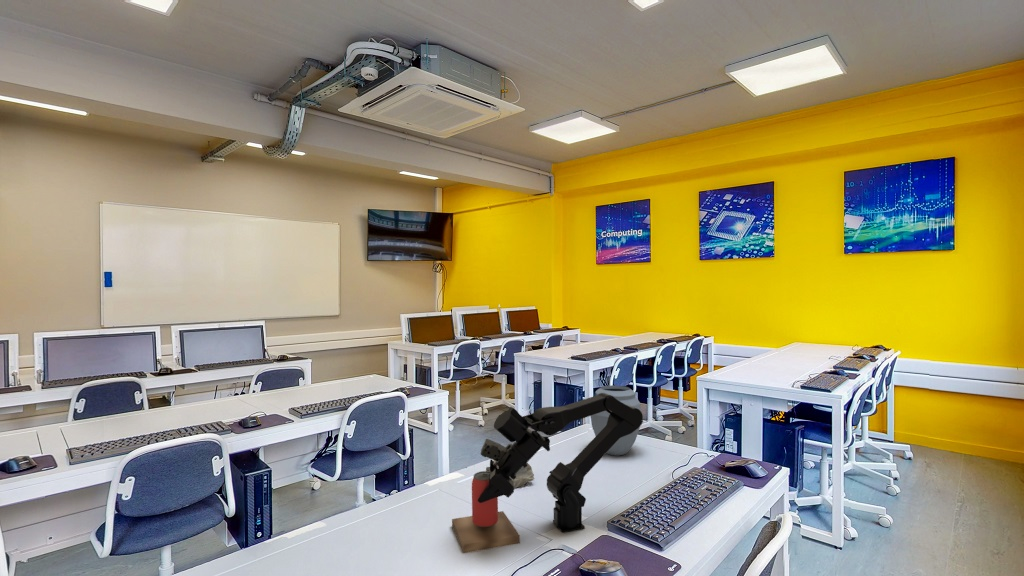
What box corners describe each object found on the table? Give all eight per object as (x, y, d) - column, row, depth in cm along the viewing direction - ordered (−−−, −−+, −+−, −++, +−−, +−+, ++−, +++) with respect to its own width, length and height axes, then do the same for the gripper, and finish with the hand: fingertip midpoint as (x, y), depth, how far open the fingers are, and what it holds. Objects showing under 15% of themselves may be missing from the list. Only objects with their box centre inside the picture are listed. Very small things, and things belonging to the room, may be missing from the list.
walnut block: (503, 520, 135) (502, 511, 135) (519, 545, 122) (519, 535, 122) (452, 528, 131) (452, 519, 131) (463, 555, 117) (463, 544, 117)
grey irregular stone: (491, 493, 153) (491, 481, 153) (483, 474, 168) (483, 463, 168) (540, 488, 156) (539, 476, 156) (528, 470, 171) (528, 460, 171)
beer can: (499, 516, 129) (498, 470, 129) (496, 528, 123) (495, 480, 123) (474, 515, 130) (473, 470, 130) (470, 528, 123) (469, 479, 123)
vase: (643, 446, 195) (643, 384, 195) (640, 463, 176) (640, 394, 176) (593, 442, 201) (593, 382, 201) (586, 458, 182) (585, 391, 182)
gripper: (499, 419, 136) (459, 461, 135) (498, 440, 117) (452, 488, 117) (528, 447, 136) (489, 489, 136) (532, 473, 117) (486, 521, 117)
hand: (479, 495), depth 126 cm, fingers closed on beer can, 6 cm apart
